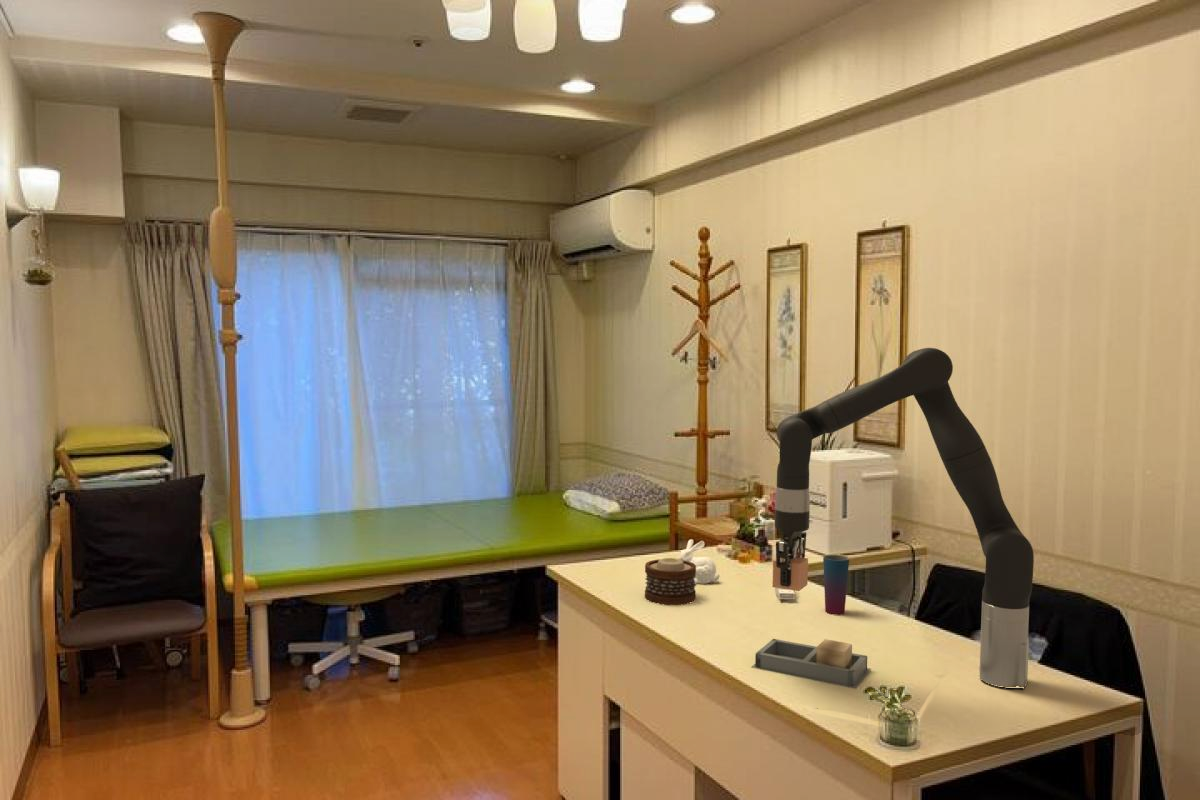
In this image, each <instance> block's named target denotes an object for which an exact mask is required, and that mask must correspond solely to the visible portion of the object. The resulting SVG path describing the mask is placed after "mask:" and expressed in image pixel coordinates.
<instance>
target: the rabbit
mask: <svg viewBox="0 0 1200 800" xmlns="http://www.w3.org/2000/svg"><path fill="white" fill-rule="evenodd" d="M694 541H695V540H694V539H689V540H688V541H687V544H686V548H685V549H682V550H680V555H679V558H678V559H679V560H684V561H689V562H691V563H694V564H695V565H696V574H695V575H696V576H695V578H693V579H694V580H695V584H696V585H698V584H699V585H701V584H702V585H707V584H711V583H714V582H717V581H718V580H719V579H720V577H721V576H720V573H718V572H717V566H716V563H715V562H714V560H712V559H711V558H710V557H708V556H700V557H698V556H694V554H693V553H694V552H697V551H699V550H701V549H703V548H704V547H705V545H706V543H705V542H704V540H700V541H699V542H697V543H695V542H694ZM694 543H695V544H694Z"/></svg>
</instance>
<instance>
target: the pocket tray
mask: <svg viewBox="0 0 1200 800" xmlns="http://www.w3.org/2000/svg"><path fill="white" fill-rule="evenodd" d="M751 668H753V669H757V670H762V671H767V672H773V673H778V674H782V675H786V676H787V675H788V676H792V677H796V678H801V679H808V680H812V681H816V682H821V683H826V684H832V685H836V686H842V687H845V688H846V687H847V688H851V689H856V688H857V687H858V686H859V685H860V684H861V682H862V681H863V680H864V679H865V677H866V676H867V675H868V674H869V672H871V670H872V668H869V667H868V655H865V654H858V653H853V652H852V667H851V668H850V669H845V668H839V667H834V666H829V665H824V664H819V663H817V646H815V645H809V644H805V643H798V642H793V641H787V640H784V639H783V640H781V639H776V638H772V639H771V640H770V641H769V642H767V643H766V644H765V645H764V646H762V647H761V648H760V649H759V650H757V652H755V661H754V664H753V665H751Z"/></svg>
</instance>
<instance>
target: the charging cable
mask: <svg viewBox="0 0 1200 800" xmlns="http://www.w3.org/2000/svg"><path fill="white" fill-rule="evenodd" d="M774 592H775V596H776V598H777V599H780V600H795V597H796V592H795V591H794V590H788V589H781V588H775V587H774Z"/></svg>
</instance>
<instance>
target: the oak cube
mask: <svg viewBox="0 0 1200 800" xmlns="http://www.w3.org/2000/svg"><path fill="white" fill-rule="evenodd" d="M816 647H817V663H819V664H824V665H829V666H834V667H839V668H845V669H850V668H851V667H852V653H853V644H852V643H848V642H842V641H838V640H832V639H827V638H824V640H822V641H821V643H819V644H818V645H817V646H816Z"/></svg>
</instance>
